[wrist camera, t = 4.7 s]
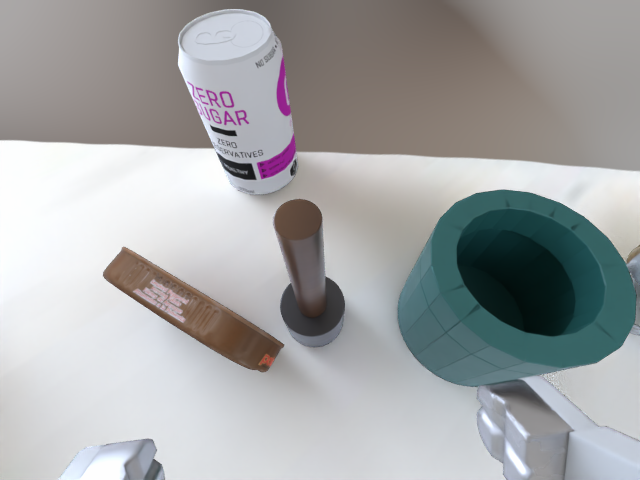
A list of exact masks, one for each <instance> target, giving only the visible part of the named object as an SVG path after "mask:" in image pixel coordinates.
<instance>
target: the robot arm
mask: <svg viewBox="0 0 640 480" xmlns="http://www.w3.org/2000/svg"><path fill="white" fill-rule="evenodd" d="M477 399H478V400H479V402H480V403H481V405H482V407H481V408H480V409H479V411H478V412H477V425H478V429H479V433H480V436H481V438H482V440H483V443H484V445H485V447H486V448H487V450H488V451H489V453H490V454H491V456H492V457H494V458H496V459H497V460H499V461H500V462H502V463H503V475H504V476H505V478H506V479H507V480H640V441H639V440H637V439H634V438H632V437H630V436H627V435H625V434H623V433H621V432H618V431H616V430H614V429H612V428H609V427H607V426H605V427H599V426H598V425H597V424H596V423H595V422H593V421H592V420H591V419H590V418H589V417H588V416H587V415H586V414H584V413H583V412H582V411H581V410H580V409H579V408H578V407H577V406H575V405H574V404H573V403H572V402H571V401H570V400H569V399H568V398H566V397H565V396H564V395H563V394H562V393H561V392H560V391H559V390H557V389H556V388H555V387H554V386H553V385H552V384H551V383H550V382H548V381H547V380H546V379H545V378H544V377H541V376H539V375H536V376H530V377H524V378H519V379H514V380H508V381H502V382H496V383H490V384H484V385H479V387H478V390H477ZM156 451H157V449H156V447H155V444H154V441H153V440H152V439H141V440H134V441H126V442H119V443H111V444H106V445H100V446H92V447H86V448H84V449H83V450H81V451H80V452H78V453H77V455H76V456H75V457H74V459H73V460H72V461H71V463H70V464H69V466H68V467H67V468H66V470H65V471H64V472H63V474H62V475H61V476H60V478H59V479H58V480H165V476H164V470H163V467H162V464H160V463H159V462H157V461H156V460H155V459H153V458H154V456H155V453H156Z"/></svg>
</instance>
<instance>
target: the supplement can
mask: <svg viewBox="0 0 640 480" xmlns="http://www.w3.org/2000/svg"><path fill="white" fill-rule="evenodd" d="M178 45H179V60H178V66H179V68H180V70H181V73H182V75H183V77H184V79H185V82H186V84H187V86H188V88H189V91H190V93H191V96H192V98H193V100H194V102H195V105H196V107H197V109H198V112H199V114H200V116H201V118H202V121H203V123H204V125H205V128H206V130H207V132H208V134H209V137H210V139H211V141H212V143H213V146H214V148H215V150H216V153H217V155H218V157H219V160H220V162H221V164H222V166H223V169H224V171H225V173H226V175H227V178H228V180H229V182H230V184H231V185H233V186H234V187H235V188H236V189H238V190H239V191H242V192H245V193H248V194H263V195H264V194H267V193H271V192H275V191H277V190H279V189H281V188H282V187H284V186H286V185H287V184H288V183H289V182H290V181H291V180H292V179H293V177H294V176H295V174H296V171H297V168H298V161H297V153H296V146H295V139H294V133H293V125H292V117H291V111H290V103H289V95H288V88H287V81H286V74H285V66H284V59H283V52H282V44H281V42H280V40H279V39H278V37H277V36H276V35H275V33H274V32H273V30H272V29H271V24H270V23H269V22H268V21H267V19H266V18H265V17H264V16H261V15H260V14H258V13H256V12H253V11H248V10H242V9H229V10H227V9H226V10H221V11H215V12H211V13H208V14H205V15H203V16H201V17H198V18H196V19H195V20H193V21H191V22H190V23H188V24H187V25H186V26H185V27H184V28H183V30H182V31H181V32H180V33H179V38H178Z"/></svg>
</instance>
